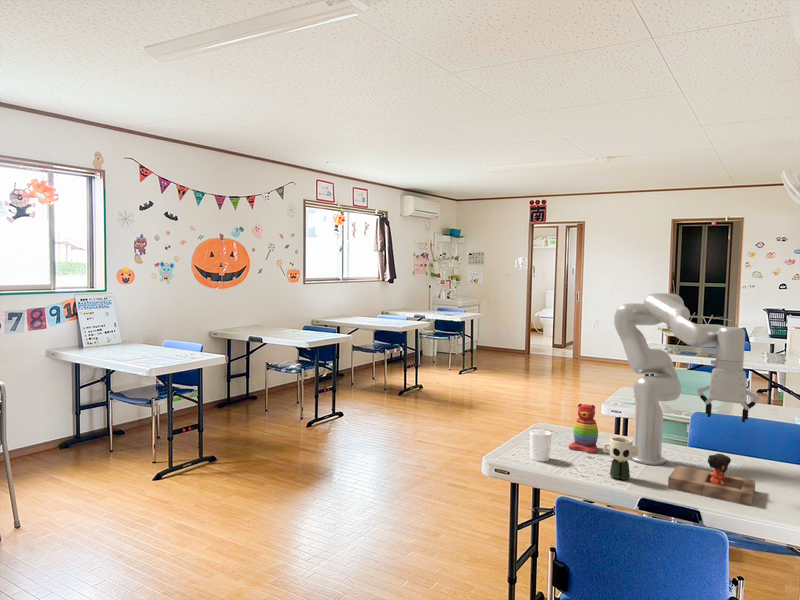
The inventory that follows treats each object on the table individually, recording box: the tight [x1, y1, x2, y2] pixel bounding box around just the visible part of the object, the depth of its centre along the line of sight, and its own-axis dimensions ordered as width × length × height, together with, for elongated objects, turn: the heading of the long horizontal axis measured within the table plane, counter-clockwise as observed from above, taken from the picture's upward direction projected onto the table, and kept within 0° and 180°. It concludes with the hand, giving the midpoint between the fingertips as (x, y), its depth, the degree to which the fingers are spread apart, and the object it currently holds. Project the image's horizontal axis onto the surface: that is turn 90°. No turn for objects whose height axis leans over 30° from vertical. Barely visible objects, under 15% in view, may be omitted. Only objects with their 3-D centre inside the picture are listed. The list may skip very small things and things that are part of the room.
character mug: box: [603, 436, 638, 480], centre depth 192 cm, size 11×7×13 cm, turn 72°
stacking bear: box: [568, 403, 599, 455], centre depth 225 cm, size 11×10×18 cm
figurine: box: [707, 452, 732, 486], centre depth 182 cm, size 6×6×12 cm
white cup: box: [529, 429, 552, 462], centre depth 210 cm, size 8×8×10 cm
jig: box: [667, 465, 756, 507], centre depth 183 cm, size 23×16×4 cm
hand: (726, 418), depth 182 cm, fingers open, 9 cm apart
